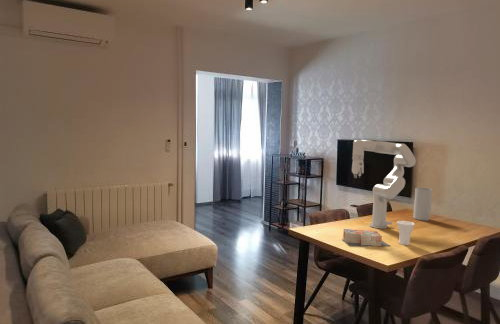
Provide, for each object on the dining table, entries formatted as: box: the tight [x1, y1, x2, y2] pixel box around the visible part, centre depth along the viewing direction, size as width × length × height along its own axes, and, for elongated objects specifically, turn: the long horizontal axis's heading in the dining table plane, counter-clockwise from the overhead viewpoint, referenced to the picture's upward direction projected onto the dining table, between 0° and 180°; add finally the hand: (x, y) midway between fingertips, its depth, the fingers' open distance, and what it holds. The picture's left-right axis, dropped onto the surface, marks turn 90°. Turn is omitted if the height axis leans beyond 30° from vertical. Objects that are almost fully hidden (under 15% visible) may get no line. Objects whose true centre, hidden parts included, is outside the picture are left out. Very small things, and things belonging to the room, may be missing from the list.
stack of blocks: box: [342, 228, 383, 247], centre depth 232 cm, size 21×6×12 cm
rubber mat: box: [342, 239, 391, 247], centre depth 232 cm, size 26×13×1 cm, turn 98°
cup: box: [396, 220, 415, 246], centre depth 232 cm, size 10×10×14 cm
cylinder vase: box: [412, 187, 433, 222], centre depth 301 cm, size 12×12×25 cm
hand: (356, 183), depth 261 cm, fingers closed
